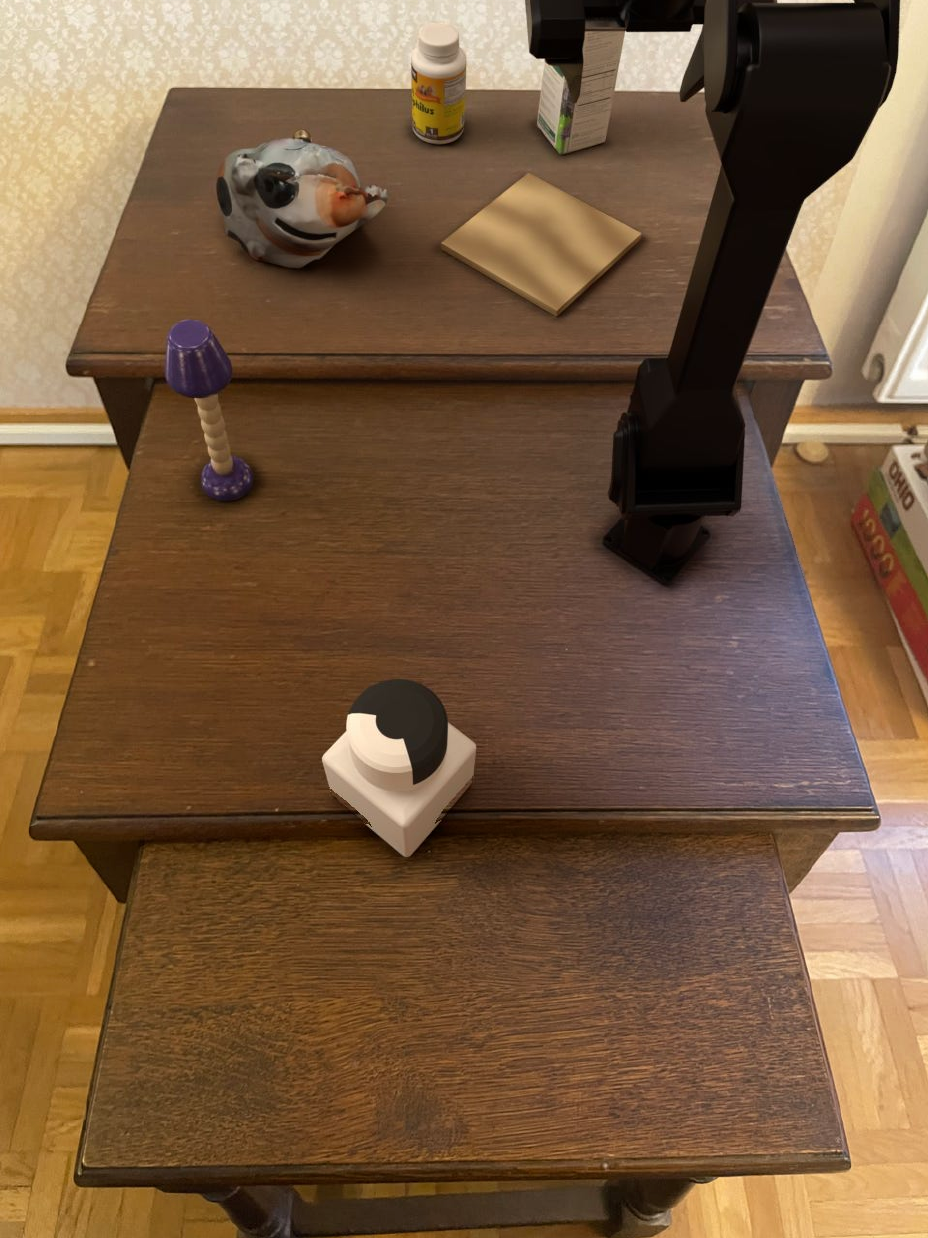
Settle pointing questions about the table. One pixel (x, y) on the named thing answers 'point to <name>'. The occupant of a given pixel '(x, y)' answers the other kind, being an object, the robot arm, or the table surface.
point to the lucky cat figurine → (293, 199)
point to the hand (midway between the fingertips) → (628, 97)
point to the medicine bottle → (399, 761)
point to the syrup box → (581, 95)
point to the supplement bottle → (438, 84)
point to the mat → (541, 243)
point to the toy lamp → (207, 403)
